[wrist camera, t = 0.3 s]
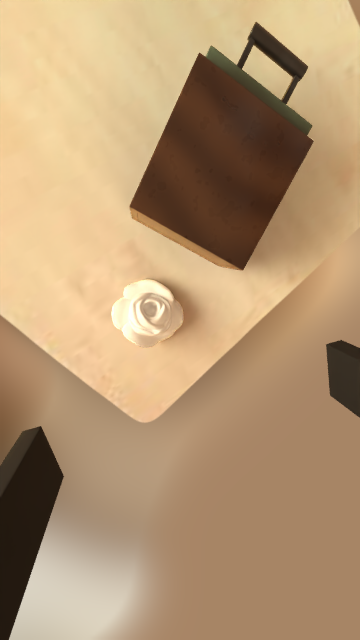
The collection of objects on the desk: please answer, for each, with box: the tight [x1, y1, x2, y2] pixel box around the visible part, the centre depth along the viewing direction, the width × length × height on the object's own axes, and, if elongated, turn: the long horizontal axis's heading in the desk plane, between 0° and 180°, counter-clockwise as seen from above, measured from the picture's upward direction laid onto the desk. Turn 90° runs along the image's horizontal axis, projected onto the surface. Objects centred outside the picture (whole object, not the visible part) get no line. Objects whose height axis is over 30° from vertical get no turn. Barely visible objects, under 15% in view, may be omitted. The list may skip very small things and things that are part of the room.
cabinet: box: [130, 53, 314, 270], centre depth 31 cm, size 15×14×9 cm
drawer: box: [206, 22, 312, 135], centre depth 30 cm, size 20×13×7 cm, turn 152°
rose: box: [112, 279, 183, 348], centre depth 36 cm, size 10×4×10 cm
